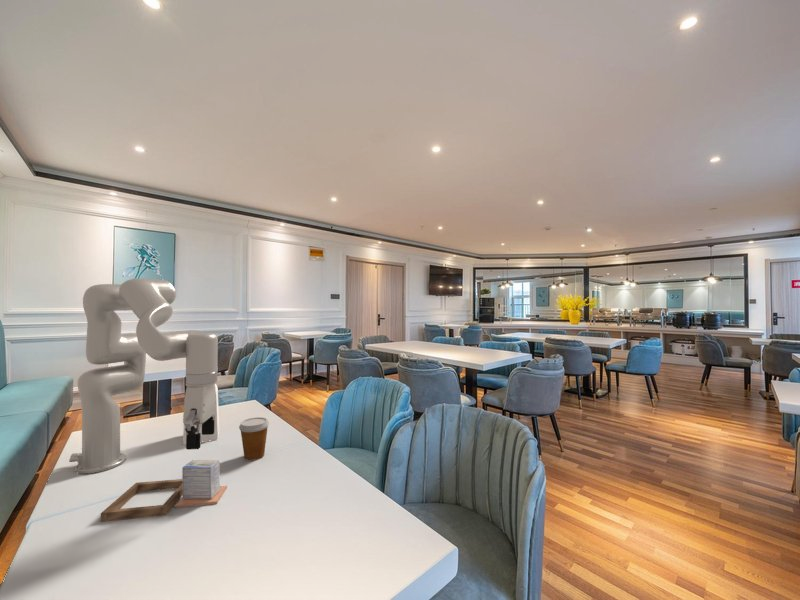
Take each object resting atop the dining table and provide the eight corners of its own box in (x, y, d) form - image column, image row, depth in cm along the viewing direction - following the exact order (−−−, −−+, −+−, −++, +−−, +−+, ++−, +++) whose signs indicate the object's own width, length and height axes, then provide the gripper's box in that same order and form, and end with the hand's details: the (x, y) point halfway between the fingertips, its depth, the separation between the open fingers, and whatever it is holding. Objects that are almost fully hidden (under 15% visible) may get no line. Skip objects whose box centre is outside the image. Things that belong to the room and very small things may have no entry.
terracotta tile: (175, 507, 90) (175, 505, 90) (189, 490, 98) (189, 488, 98) (216, 503, 91) (216, 501, 91) (227, 487, 99) (227, 485, 99)
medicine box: (220, 490, 97) (220, 459, 97) (211, 499, 92) (211, 467, 92) (192, 490, 97) (192, 459, 97) (181, 499, 92) (181, 467, 92)
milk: (187, 434, 140) (186, 369, 140) (219, 429, 145) (218, 367, 145) (182, 445, 129) (182, 375, 129) (217, 439, 134) (217, 372, 134)
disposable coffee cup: (258, 463, 114) (258, 427, 114) (232, 461, 116) (232, 425, 116) (274, 451, 123) (274, 417, 123) (250, 449, 125) (250, 416, 125)
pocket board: (100, 521, 84) (100, 513, 84) (136, 489, 98) (136, 482, 98) (165, 515, 86) (165, 507, 86) (191, 485, 101) (191, 478, 101)
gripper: (200, 372, 103) (199, 429, 103) (171, 386, 86) (170, 456, 86) (227, 371, 104) (226, 428, 104) (203, 386, 87) (203, 454, 87)
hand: (201, 441), depth 95 cm, fingers open, 9 cm apart
